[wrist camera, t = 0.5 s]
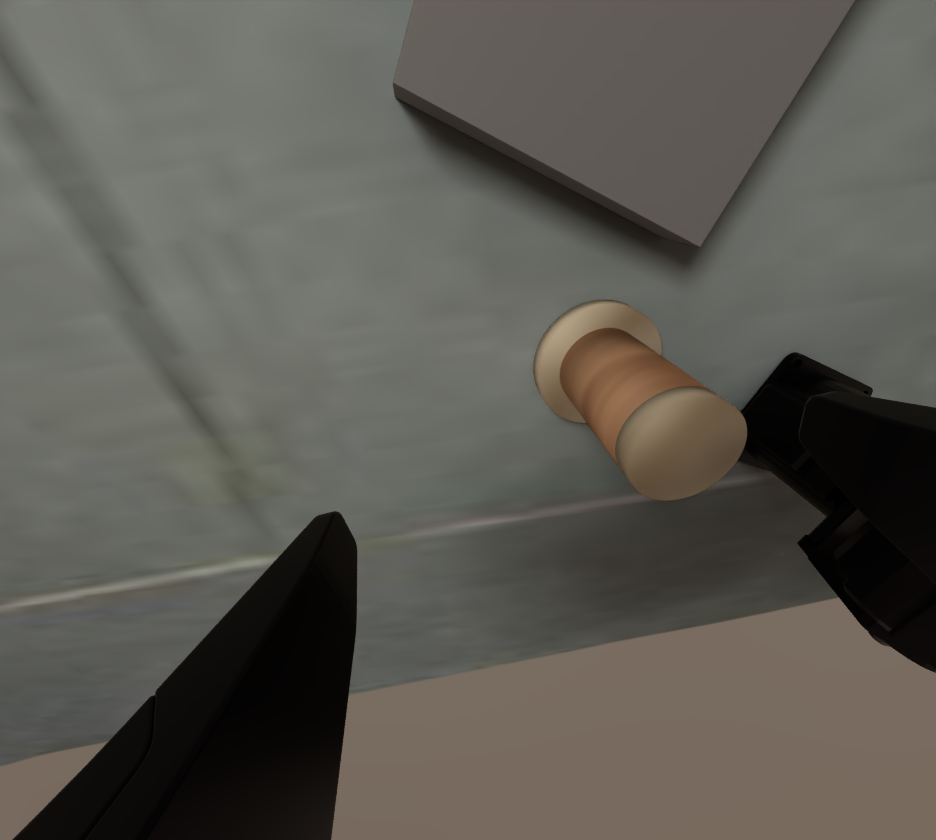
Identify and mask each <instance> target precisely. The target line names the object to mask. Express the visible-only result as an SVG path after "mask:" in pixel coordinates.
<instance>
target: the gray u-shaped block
mask: <svg viewBox="0 0 936 840" xmlns="http://www.w3.org/2000/svg"><path fill="white" fill-rule="evenodd" d="M854 1H855V0H414V2H413V6H412V10H411V13H410V17H409V21H408V25H407V29H406V33H405V37H404V41H403V44H402V48H401V52H400V56H399V60H398V64H397V68H396V71H395V75H394V79H393V88H394V95H395V97H396V98H398V99H400V100H402V101H403V102H405V103H407V104H409V105H411V106H413V107H415V108H417V109H419V110H421V111H423V112H424V113H426V114H428V115H430V116H432V117H434V118H436V119H438V120H440V121H442V122H443V123H445V124H447V125H449V126H451V127H453V128H455V129H457V130H459V131H461V132H462V133H464V134H466V135H468V136H470V137H472V138H474V139H476V140H478V141H480V142H481V143H483V144H485V145H487V146H489V147H491V148H493V149H495V150H497V151H499V152H500V153H502V154H504V155H506V156H508V157H510V158H512V159H514V160H516V161H518V162H519V163H521V164H523V165H525V166H527V167H529V168H531V169H533V170H535V171H537V172H538V173H540V174H542V175H544V176H546V177H548V178H550V179H552V180H554V181H556V182H557V183H559V184H561V185H563V186H565V187H567V188H569V189H571V190H573V191H575V192H576V193H578V194H580V195H582V196H584V197H586V198H588V199H590V200H592V201H594V202H596V203H597V204H599V205H601V206H603V207H605V208H607V209H609V210H611V211H613V212H615V213H616V214H618V215H620V216H622V217H624V218H626V219H628V220H630V221H632V222H634V223H635V224H637V225H639V226H641V227H643V228H645V229H647V230H649V231H651V232H653V233H654V234H656V235H658V236H660V237H662V238H664V239H668V240H672V241H676V242H680V243H685V244H689V245H693V246H697V247H700V246H701V245H702V243H703V242H704V240H705V238H706V237H707V235H708V234H709V232H710V231H711V229H712V227H713V226H714V224H715V223H716V221H717V219H718V218H719V216H720V215H721V213H722V211H723V210H724V208H725V207H726V205H727V203H728V202H729V200H730V199H731V197H732V195H733V194H734V192H735V191H736V189H737V188H738V186H739V184H740V183H741V181H742V180H743V178H744V176H745V175H746V173H747V172H748V170H749V168H750V167H751V165H752V164H753V162H754V160H755V159H756V157H757V156H758V154H759V152H760V151H761V149H762V148H763V146H764V145H765V143H766V141H767V140H768V138H769V137H770V135H771V133H772V132H773V130H774V129H775V127H776V125H777V124H778V122H779V121H780V119H781V117H782V116H783V114H784V113H785V111H786V109H787V108H788V106H789V105H790V103H791V101H792V100H793V98H794V97H795V95H796V94H797V92H798V90H799V89H800V87H801V86H802V84H803V82H804V81H805V79H806V78H807V76H808V74H809V73H810V71H811V70H812V68H813V66H814V65H815V63H816V62H817V60H818V58H819V57H820V55H821V54H822V52H823V51H824V49H825V47H826V46H827V44H828V43H829V41H830V39H831V38H832V36H833V35H834V33H835V31H836V30H837V28H838V27H839V25H840V23H841V22H842V20H843V19H844V17H845V15H846V14H847V12H848V11H849V9H850V8H851V6H852V4H853V3H854Z"/></svg>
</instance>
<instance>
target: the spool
mask: <svg viewBox="0 0 936 840" xmlns="http://www.w3.org/2000/svg"><path fill="white" fill-rule="evenodd" d="M533 373H534V380H535V383H536V386H537V388H538V391H539V392H540V394H541V395H542V397H543V399H544V400H545V402H546V403H547V405H548V406H549V407H550V408H551V410H552V411H554V412H555V413H556V414H557V415H559V416H561V417H562V418H565V419H567V420H569V421H573V422H579V423H587V424H588V425H589V427H590V428H591V429H592V431H593V432H594V434H595V435H596V436H597V438H598V439H599V440H600V442H601V443H602V444H603V446H604V447H605V448H606V450H607V451H608V453H609V454H610V455H611V457H612V458H613V459H614V461H615V462H616V463H617V465H618V466H619V468H620V469H621V470H622V472H623V473H624V474H625V476H626V477H627V478H628V480H629V481H630V482H631V484H632V485H633V487H634V488H635V489H636V490H637V491H638V492H639V493H641V494H642V495H644V496H646V497H648V498H651V499H655V500H662V501H669V500H678V499H682V498H686V497H689V496H692V495H695V494H697V493H699V492H701V491H703V490H705V489H707V488H709V487H710V486H712V485H713V484H715V483H716V482H717V481H719V480H720V479H721V478H722V477H723V476H725V475H726V474H727V473H728V472H729V470H730V469H731V468H732V467H733V466H734V464H735V463H736V462H737V460H738V459H739V457H740V455H741V453H742V451H743V449H744V446H745V443H746V439H747V425H746V422H745V419H744V417H743V415H742V414H741V412H740V411H739V410H738V409H737V408H735V407H734V406H733V405H731V404H730V403H728V402H727V401H725V400H724V399H722V398H721V397H720V396H718V395H717V394H715V393H714V392H712V391H711V390H710V389H708V388H707V387H705V386H704V385H702V384H701V383H700V382H698V381H697V380H695V379H694V378H692V377H691V376H689V375H688V374H687V373H685V372H684V371H682V370H681V369H679V368H678V367H677V366H675V365H674V364H672V363H671V362H669V361H668V360H666V359H665V358H664V357H662V346H661V340H660V336H659V333H658V331H657V329H656V327H655V326H654V324H653V323H652V322H651V320H650V319H649V318H648V317H646V316H645V315H644V314H643V313H641V312H639V311H637V310H636V309H634V308H632V307H630V306H629V305H627V304H625V303H622V302H619V301H614V300H594V301H590V302H586V303H583V304H580V305H578V306H576V307H574V308H572V309H570V310H569V311H567V312H566V313H564V314H563V315H561V316H560V317H559V318H558V319H557V320H556V321H555V322H554V323H553V324H552V325H551V326H550V327H549V328H548V330H547V331H546V332H545V334H544V335H543V337H542V339H541V340H540V342H539V345H538V347H537V350H536V353H535V357H534V363H533Z"/></svg>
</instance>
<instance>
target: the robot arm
mask: <svg viewBox="0 0 936 840" xmlns="http://www.w3.org/2000/svg"><path fill="white" fill-rule="evenodd" d="M794 362H795V363H794ZM872 392H873V389H872V388H871V387H869V386H867V385H865V384H863V383H861V382H859V381H856V380H854V379H852V378H850V377H848V376H846V375H844V374H842V373H840V372H838V371H836V370H833V369H831V368H829V367H827V366H825V365H823V364H821V363H819V362H817V361H815V360H813V359H810V358H808V357H806V356H804V355H802V354H800V353H796V352H794V353H791V354H789V355H788V356H787V357H786V358H785V359H784V360H783V361H782V362H781V363H780V365H779V366H778V367H777V368H776V370H775V371H774V372H773V373H772V375H771V376H770V377H769V378H768V380H767V381H766V382H765V383H764V384H763V386H762V387H761V388H760V389H759V391H758V392H757V393H756V394H755V396H754V397H753V398H752V399H751V400H750V402H749V403H748V404H747V405H746V407H745V408H744V409H743V410H742V412H741V414H742V415H743V417H744V419H745V422H746V425H747V439H746V443H745V446H744V449H743V451H742V453H741V455H740V457H739V459H738V460H739V461H742V462H745V463H748V464H751V465H754V466H757V467H760V468H763V469H766V470H768V471H771V472H772V473H773V474H775V475H776V476H777V477H778V478H780V479H781V480H782V481H783V482H785V483H786V484H787V485H788V486H790V487H791V488H792V489H793V490H794V491H796V492H797V493H798V494H799V495H801V496H802V497H803V498H804V499H806V500H807V501H808V502H809V503H811V504H812V505H813V506H814V507H816V508H817V509H818V510H819V511H821V512H822V513H823V514H824V515H826V516H827V517H826V518H825V519H824V520H823V521H822V522H821V523H820V524H819V525H818V526H817V527H816V528H815V529H814V530H813V531H812V532H811V533H810V534H809V535H805V536H804V537H803V538H801V539H800V540H799V541H798V545H799V546H800V547H801V548H802V550H803V551H804V552H805V553H806V555H807V556H808V559H809V560H810V562H811V563H812V564H813V565H814V567H815V568H816V569H817V570H818V572H819V573H820V574H821V575H822V577H823V578H824V579H825V580H826V582H827V583H828V584H829V585H830V587H831V588H832V589H833V590H834V592H835V593H836V594H837V595H838V597H839V598H840V599H841V600H842V602H843V603H844V604H845V605H846V607H847V608H848V609H849V610H850V612H851V613H852V614H853V615H854V617H855V618H856V619H857V620H858V622H859V623H860V624H861V625H862V626H863V627H864V628H865V629H866V630H867V631H868V632H869V634H870V635H871V636H872V637H873V638H874V639H875V640H876V641H877V642H879V643H880V644H882V645H885V646H889V647H892V648H893V649H895V650H896V651H898V652H899V653H901V654H902V655H904V656H905V657H907V658H908V659H910V660H911V661H913V662H915V663H917V664H918V665H920V666H922V667H924V668H926V669H928V670H930V671H933V672H935V673H936V408H934V407H928V406H922V405H916V404H910V403H904V402H898V401H892V400H886V399H880V398H874V397H871V395H872ZM356 620H357V546H356V542H355V539H354V537H353V535H352V533H351V532H350V530H349V528H348V526H347V524H346V522H345V520H344V518H343V516H342V515H341V514H340V513H339V512H336V511H334V512H330V513H326V514H321V515H318V516H316V517H315V518H314V519H313V520H312V521H311V522H310V523H309V525H308V526H307V527H306V528H305V529H304V530H303V531H302V532H301V533H300V534H299V535H298V537H297V538H296V539H295V540H294V541H293V542H292V543H291V544H290V545H289V546H288V547H287V548H286V550H285V551H284V552H283V553H282V554H281V555H280V556H279V557H278V558H277V559H276V560H275V562H274V563H273V564H272V565H271V566H270V567H269V568H268V569H267V570H266V571H265V572H264V574H263V575H262V576H261V577H260V578H259V579H258V580H257V581H256V582H255V583H254V584H253V586H252V587H251V588H250V589H249V590H248V591H247V592H246V593H245V594H244V595H243V596H242V598H241V599H240V600H239V601H238V602H237V603H236V604H235V605H234V606H233V607H232V608H231V609H230V611H229V612H228V613H227V614H226V615H225V616H224V617H223V618H222V619H221V620H220V621H219V623H218V624H217V625H216V626H215V627H214V628H213V629H212V630H211V631H210V632H209V633H208V635H207V636H206V637H205V638H204V639H203V640H202V641H201V642H200V643H199V644H198V645H197V646H196V648H195V649H194V650H193V651H192V652H191V653H190V654H189V655H188V656H187V657H186V658H185V660H184V661H183V662H182V663H181V664H180V665H179V666H178V667H177V668H176V669H175V670H174V671H173V673H172V674H171V675H170V676H169V677H168V678H167V679H166V680H165V681H164V682H163V683H162V685H161V686H160V687H159V688H158V689H157V690H156V693H155V695H154V696H151V697H149V699H148V700H147V701H146V702H145V703H144V704H143V705H142V706H141V707H140V708H139V709H138V711H137V712H136V713H135V714H134V715H133V716H132V717H131V718H130V719H129V720H128V721H127V723H126V724H125V725H124V726H123V727H122V728H121V729H120V730H119V731H118V732H117V733H116V734H115V735H114V736H113V737H112V738H111V740H110V741H109V742H108V743H107V744H106V745H105V746H104V747H103V748H102V749H101V750H100V751H99V752H98V753H97V754H96V755H95V757H94V758H93V759H92V760H91V761H90V762H89V763H88V764H87V765H86V766H85V767H84V768H83V769H82V770H81V771H80V772H79V773H78V774H77V775H76V776H75V777H74V778H73V779H72V780H71V781H70V782H69V783H68V784H67V785H66V786H65V787H64V788H63V789H62V790H61V792H59V793H58V794H57V795H56V797H55V798H54V799H53V800H52V801H51V802H50V803H49V804H48V805H47V806H46V807H45V808H44V809H43V810H42V811H41V812H40V813H39V814H38V815H37V816H36V817H35V818H34V819H33V820H32V821H31V822H30V823H29V824H28V825H27V826H26V827H25V828H24V829H23V830H22V831H21V832H20V833H19V834H18V835H17V836H16V837H15V838H14V839H13V840H331V836H332V828H333V820H334V811H335V802H336V795H337V786H338V778H339V770H340V761H341V753H342V745H343V736H344V728H345V720H346V712H347V703H348V695H349V687H350V678H351V670H352V662H353V653H354V645H355V636H356Z"/></svg>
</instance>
